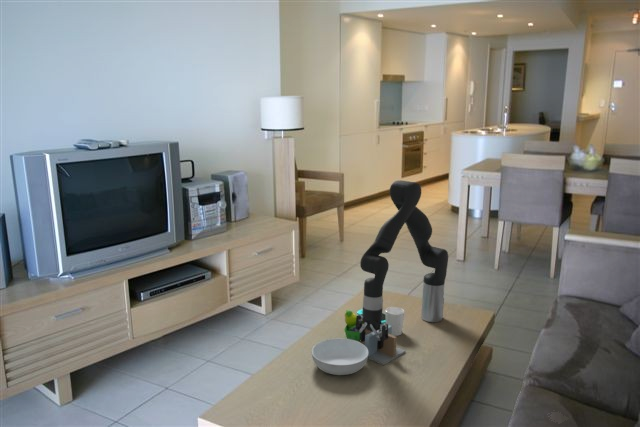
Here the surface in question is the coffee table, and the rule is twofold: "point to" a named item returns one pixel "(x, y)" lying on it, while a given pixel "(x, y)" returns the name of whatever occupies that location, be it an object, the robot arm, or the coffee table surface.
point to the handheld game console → (381, 319)
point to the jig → (386, 350)
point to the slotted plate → (373, 341)
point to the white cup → (395, 319)
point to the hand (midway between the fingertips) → (371, 344)
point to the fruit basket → (351, 326)
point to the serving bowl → (340, 356)
